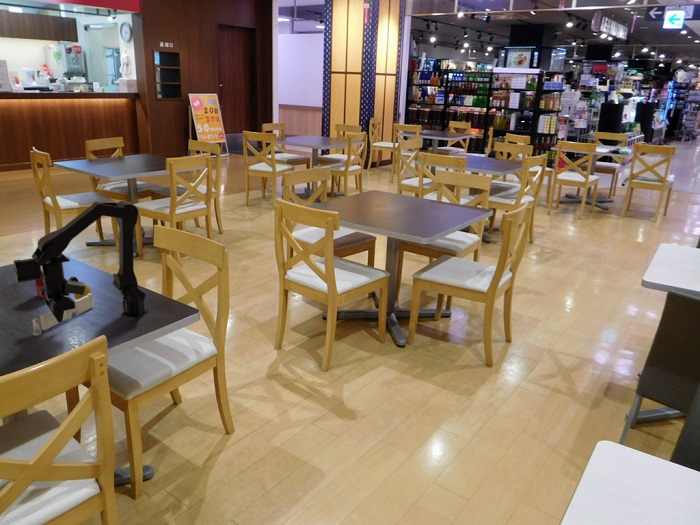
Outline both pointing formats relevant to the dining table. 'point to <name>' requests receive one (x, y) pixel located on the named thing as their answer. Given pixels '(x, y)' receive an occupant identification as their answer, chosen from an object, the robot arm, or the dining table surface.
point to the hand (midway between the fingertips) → (60, 321)
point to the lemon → (87, 290)
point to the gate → (52, 319)
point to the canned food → (39, 284)
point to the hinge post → (73, 312)
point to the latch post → (36, 327)
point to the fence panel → (84, 303)
